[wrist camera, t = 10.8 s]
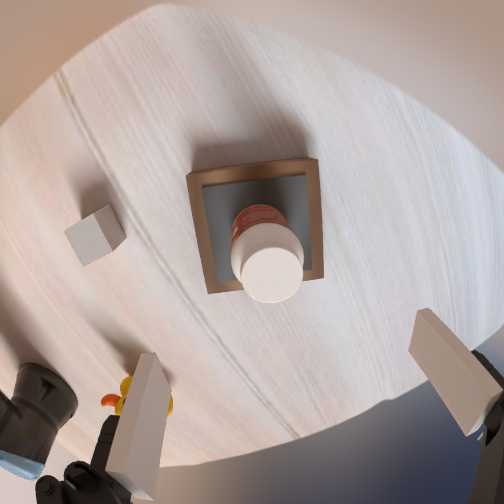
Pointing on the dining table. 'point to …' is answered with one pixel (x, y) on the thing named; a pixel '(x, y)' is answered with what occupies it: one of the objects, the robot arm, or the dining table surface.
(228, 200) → the podium
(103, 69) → the dining table surface
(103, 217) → the stone block
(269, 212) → the pill bottle
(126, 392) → the duckling
